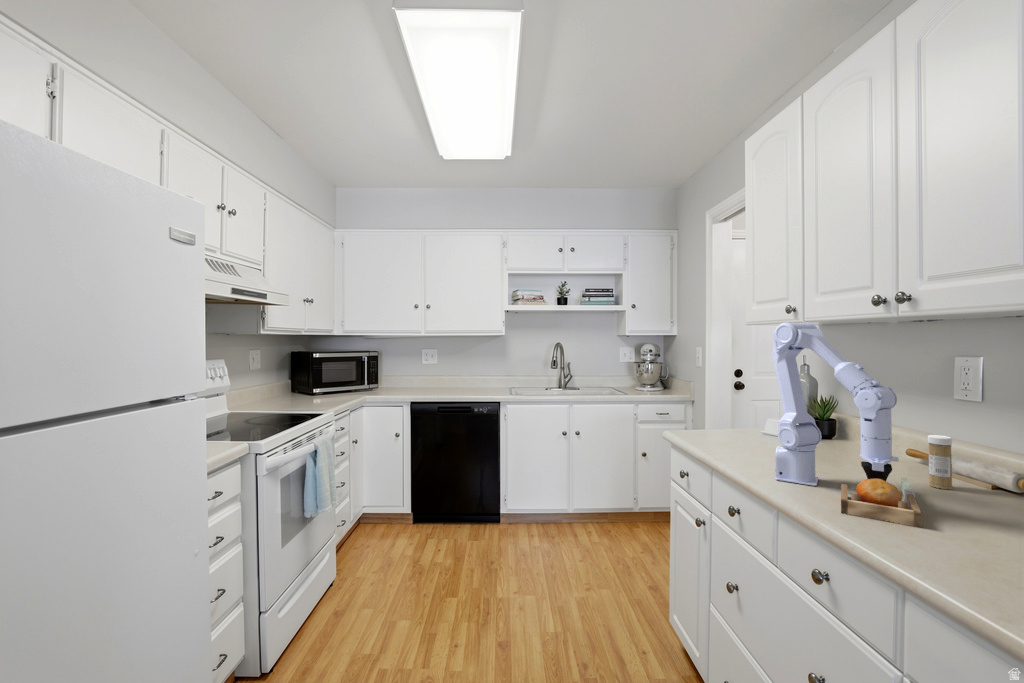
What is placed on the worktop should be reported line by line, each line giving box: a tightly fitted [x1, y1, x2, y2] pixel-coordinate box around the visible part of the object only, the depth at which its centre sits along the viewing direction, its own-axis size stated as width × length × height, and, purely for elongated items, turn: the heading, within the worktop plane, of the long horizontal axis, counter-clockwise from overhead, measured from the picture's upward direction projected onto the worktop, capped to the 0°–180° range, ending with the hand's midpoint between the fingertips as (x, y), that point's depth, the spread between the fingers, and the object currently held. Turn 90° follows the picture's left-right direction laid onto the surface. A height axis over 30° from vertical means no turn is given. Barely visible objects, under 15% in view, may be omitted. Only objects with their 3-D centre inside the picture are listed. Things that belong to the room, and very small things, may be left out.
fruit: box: [855, 478, 903, 508], centre depth 100 cm, size 8×8×8 cm
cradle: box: [840, 483, 923, 528], centre depth 100 cm, size 13×13×4 cm
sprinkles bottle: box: [927, 434, 953, 490], centre depth 115 cm, size 5×5×14 cm
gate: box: [900, 476, 916, 502], centre depth 107 cm, size 13×2×3 cm, turn 143°
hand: (876, 493), depth 104 cm, fingers closed
